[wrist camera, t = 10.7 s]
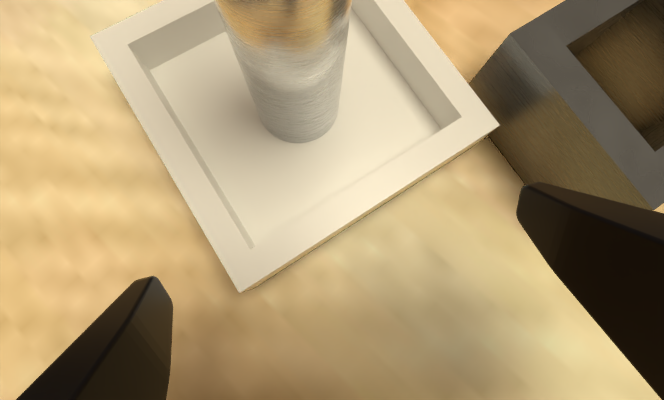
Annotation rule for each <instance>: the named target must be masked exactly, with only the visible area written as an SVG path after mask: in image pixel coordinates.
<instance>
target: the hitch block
mask: <svg viewBox="0 0 664 400" xmlns="http://www.w3.org/2000/svg"><path fill="white" fill-rule="evenodd" d="M469 86H470V87H471V88H472V90H473V91H474V92H475V93H476V95H477V96H478V97H479V99H480V100H481V101H482V103H483V104H484V105H485V106H486V108H487V109H488V110H489V112H490V113H491V114H492V115H493V117H494V118H495V119H496V121H497V122H498V123H499V126H498V127H497V128H496V129H494V130H493V131H492V132H491V133H489V134H488V136H489V137H490V138H491V140H492V141H493V142H494V143H495V145H496V146H497V147H498V149H499V150H500V151H501V153H502V154H503V155H504V157H505V158H506V159H507V161H508V162H509V163H510V164H511V166H512V167H513V168H514V170H515V171H516V172H517V174H518V175H519V176H520V178H521V179H522V180H523V182H524V183H525V184H526V185H528V184H532V183H536V182H543V183H547V184H551V185H555V186H559V187H562V188H566V189H570V190H574V191H578V192H582V193H586V194H590V195H593V196H597V197H601V198H605V199H609V200H613V201H617V202H621V203H624V204H628V205H632V206H636V207H640V208H644V209H648V210H655V209H656V208H657V207H659V206H660V205H661V204H663V203H664V0H565V1H564V2H562V3H560V4H559V5H557V6H555V7H554V8H552V9H550V10H549V11H547V12H545V13H544V14H542V15H540V16H539V17H537V18H535V19H534V20H532V21H530V22H529V23H527V24H525V25H524V26H522V27H520V28H519V29H517V30H515V31H514V32H512V33H510V34H509V35H508V37H507V38H506V39H505V40H504V42H503V43H502V44H501V45H500V46H499V48H498V49H497V50H496V51H495V53H494V54H493V55H492V56H491V57H490V59H489V60H488V61H487V62H486V64H485V65H484V66H483V67H482V68H481V70H480V71H479V72H478V73H477V74H476V76H475V77H474V78H473V79H472V81H471V82H470V83H469Z"/></svg>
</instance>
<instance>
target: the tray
mask: <svg viewBox="0 0 664 400" xmlns="http://www.w3.org/2000/svg"><path fill="white" fill-rule="evenodd" d="M90 38H91V39H92V41H93V43H94V45H95V46H96V48H97V50H98V51H99V53H100V55H101V57H102V58H103V60H104V62H105V63H106V65H107V67H108V69H109V70H110V72H111V74H112V75H113V77H114V79H115V81H116V82H117V84H118V86H119V88H120V89H121V91H122V93H123V94H124V96H125V98H126V100H127V101H128V103H129V105H130V106H131V108H132V110H133V112H134V113H135V115H136V117H137V118H138V120H139V122H140V124H141V125H142V127H143V129H144V130H145V132H146V134H147V136H148V137H149V139H150V141H151V142H152V144H153V146H154V148H155V149H156V151H157V153H158V155H159V156H160V158H161V160H162V161H163V163H164V165H165V167H166V168H167V170H168V172H169V173H170V175H171V177H172V179H173V180H174V182H175V184H176V185H177V187H178V189H179V191H180V192H181V194H182V196H183V197H184V199H185V201H186V203H187V204H188V206H189V208H190V209H191V211H192V213H193V215H194V216H195V218H196V220H197V222H198V223H199V225H200V227H201V228H202V230H203V232H204V234H205V235H206V237H207V239H208V240H209V242H210V244H211V246H212V247H213V249H214V251H215V252H216V254H217V256H218V258H219V259H220V261H221V263H222V264H223V266H224V268H225V270H226V271H227V273H228V275H229V277H230V278H231V280H232V282H233V283H234V285H235V287H236V289H237V290H238V292H239V293H241V292H244V291H248V290H251V289H254V288H255V287H257V286H258V285H260V284H261V283H263V282H265V281H266V280H268V279H269V278H271V277H272V276H274V275H275V274H277V273H278V272H280V271H282V270H283V269H285V268H286V267H288V266H289V265H291V264H292V263H294V262H295V261H297V260H299V259H300V258H302V257H303V256H305V255H306V254H308V253H309V252H311V251H312V250H314V249H316V248H317V247H319V246H320V245H322V244H323V243H325V242H326V241H328V240H330V239H331V238H333V237H334V236H336V235H337V234H339V233H340V232H342V231H343V230H345V229H347V228H348V227H350V226H351V225H353V224H354V223H356V222H357V221H359V220H360V219H362V218H364V217H365V216H367V215H368V214H370V213H371V212H373V211H374V210H376V209H377V208H379V207H381V206H382V205H384V204H385V203H387V202H388V201H390V200H391V199H393V198H394V197H396V196H398V195H399V194H401V193H402V192H404V191H405V190H407V189H408V188H410V187H411V186H413V185H415V184H416V183H418V182H419V181H421V180H422V179H424V178H425V177H427V176H428V175H430V174H432V173H433V172H435V171H436V170H438V169H439V168H441V167H442V166H444V165H445V164H447V163H449V162H450V161H452V160H453V159H455V158H456V157H458V156H459V155H461V154H462V153H464V152H466V151H467V150H469V149H470V148H471V147H473V146H474V145H475V144H477V143H478V142H479V141H480V140H482V139H483V138H484V137H485V136H487V135H488V134H489V133H491V132H492V131H493V130H494V129H496V128H497V127H498V126H499V123H498V122H497V121H496V119H495V118H494V117H493V115H492V114H491V113H490V112H489V110H488V109H487V108H486V106H485V105H484V104H483V103H482V101H481V100H480V99H479V97H478V96H477V95H476V93H475V92H474V91H473V90H472V88H471V87H470V86H469V84H468V83H467V82H466V81H465V79H464V78H463V77H462V75H461V74H460V73H459V71H458V70H457V69H456V68H455V66H454V65H453V64H452V62H451V61H450V60H449V58H448V57H447V56H446V55H445V53H444V52H443V51H442V49H441V48H440V47H439V46H438V44H437V43H436V42H435V40H434V39H433V38H432V36H431V35H430V34H429V33H428V31H427V30H426V29H425V27H424V26H423V25H422V24H421V22H420V21H419V20H418V18H417V17H416V16H415V14H414V13H413V12H412V11H411V9H410V8H409V7H408V5H407V4H406V3H405V1H404V0H352V6H351V14H350V22H349V30H348V37H347V45H346V53H345V61H344V69H343V77H342V85H341V93H340V101H339V109H338V115H337V118H336V120H335V122H334V124H333V126H332V127H331V128H330V130H329V131H328V132H327V133H325V134H324V135H323V136H321V137H320V138H318V139H316V140H313V141H310V142H306V143H290V142H286V141H283V140H280V139H278V138H277V137H275V136H274V135H272V134H271V133H270V132H269V131H268V130H267V129H266V128H265V127H264V125H263V124H262V122H261V120H260V117H259V115H258V112H257V110H256V107H255V104H254V102H253V99H252V97H251V94H250V92H249V89H248V86H247V84H246V81H245V79H244V76H243V74H242V71H241V69H240V66H239V63H238V61H237V58H236V56H235V53H234V51H233V48H232V45H231V43H230V40H229V38H228V35H227V33H226V30H225V27H224V25H223V22H222V20H221V17H220V15H219V12H218V10H217V7H216V4H215V2H214V0H163V1H161V2H159V3H157V4H155V5H152V6H150V7H148V8H146V9H144V10H142V11H140V12H138V13H136V14H134V15H132V16H130V17H128V18H126V19H124V20H122V21H120V22H118V23H116V24H114V25H112V26H110V27H108V28H105V29H103V30H101V31H99V32H97V33H95V34H93V35H91V36H90Z"/></svg>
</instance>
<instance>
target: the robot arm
mask: <svg viewBox="0 0 664 400" xmlns="http://www.w3.org/2000/svg"><path fill="white" fill-rule="evenodd" d="M516 214H517V218H518V221H519V223H520V224H521V225H522V227H523V228H524V230H525V231H526V233H527V234H528V236H529V237H530V239H531V240H532V241H533V243H534V244H535V246H536V247H537V249H538V250H539V252H540V253H541V255H542V256H543V258H544V259H545V260H546V262H547V263H548V265H549V266H550V267H551V269H552V270H553V271H554V273H555V274H556V275H557V276H558V278H559V279H560V280H561V281H562V282H563V283H564V285H565V286H566V287H567V288H568V289H569V291H570V292H571V293H572V294H573V295H574V296H575V298H576V299H577V300H578V301H579V302H580V304H581V305H582V306H583V307H584V308H585V309H586V311H587V312H588V313H589V314H590V315H591V317H592V318H593V319H594V320H595V321H596V322H597V324H598V325H599V326H600V327H601V328H602V330H603V331H604V332H605V333H606V334H607V335H608V337H609V338H610V339H611V340H612V341H613V343H614V344H615V345H616V346H617V347H618V348H619V350H620V351H621V352H622V353H623V354H624V356H625V357H626V358H627V359H628V360H629V361H630V363H631V364H632V365H633V366H634V367H635V369H636V370H637V371H638V372H639V373H640V374H641V376H642V377H643V378H644V379H645V380H646V382H647V383H648V384H649V385H650V386H651V387H652V389H653V390H654V391H655V392H656V393H657V395H658V396H659V397H660V398H661V399H662V400H664V214H663V213H659V212H656V211H652V210H648V209H644V208H640V207H636V206H632V205H628V204H624V203H621V202H617V201H613V200H609V199H605V198H601V197H597V196H593V195H590V194H586V193H582V192H578V191H574V190H570V189H566V188H562V187H559V186H555V185H551V184H547V183H543V182H536V183H532V184H528V185H525V186H523V187H522V189H521V191H520V196H519V201H518V206H517V212H516ZM172 321H173V304H172V301H171V298H170V297H169V295H168V293H167V292H166V290H165V289H164V287H163V285H162V284H161V282H160V281H159V279H158V278H157V277H155V276H150V277H146V278H142V279H138V280H136V281H134V282H133V283H132V284H131V285H130V286H129V287H128V288H127V289H126V290H125V291H124V292H123V293H122V294H121V295H120V296H119V297H118V298H117V299H116V300H115V301H114V302H113V303H112V304H111V305H110V306H109V307H108V308H107V309H106V310H105V311H104V312H103V313H102V314H101V315H100V316H99V317H98V318H97V319H96V320H95V321H94V322H93V323H92V324H91V325H90V326H89V327H88V328H87V329H86V330H85V331H84V332H83V333H82V334H81V335H80V336H79V337H78V338H77V339H76V340H75V341H74V342H73V343H72V344H71V345H70V346H69V347H68V348H67V349H66V350H65V351H64V352H63V353H62V354H61V355H60V356H59V357H58V358H57V359H56V360H55V361H54V362H53V363H52V364H51V365H50V366H49V367H48V368H47V369H46V370H45V371H44V372H43V373H42V374H41V375H40V376H39V377H38V378H37V379H36V380H35V381H34V382H33V383H32V384H31V385H30V386H29V387H28V388H27V389H26V390H25V391H24V392H23V393H22V394H21V395H20V396H19V397H18V398H17V399H16V400H166V396H167V390H168V384H169V376H170V365H171V345H172Z"/></svg>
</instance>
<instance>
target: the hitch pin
mask: <svg viewBox="0 0 664 400" xmlns="http://www.w3.org/2000/svg"><path fill="white" fill-rule="evenodd" d="M214 2H215V4H216V7H217V10H218V12H219V15H220V17H221V20H222V22H223V25H224V27H225V30H226V33H227V35H228V38H229V40H230V43H231V45H232V48H233V51H234V53H235V56H236V58H237V61H238V63H239V66H240V69H241V71H242V74H243V76H244V79H245V81H246V84H247V86H248V89H249V92H250V94H251V97H252V99H253V102H254V104H255V107H256V110H257V112H258V115H259V117H260V120H261V122H262V124H263V125H264V127H265V128H266V129H267V130H268V131H269V132H270V133H271V134H272V135H274V136H275V137H277V138H278V139H280V140H283V141H286V142H290V143H306V142H310V141H313V140H316V139H318V138H320V137H321V136H323V135H324V134H325V133H327V132H328V131H329V130H330V128H331V127H332V126H333V124H334V122H335V120H336V118H337V115H338V109H339V101H340V93H341V85H342V77H343V69H344V61H345V53H346V45H347V37H348V30H349V22H350V14H351V6H352V0H214Z"/></svg>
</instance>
